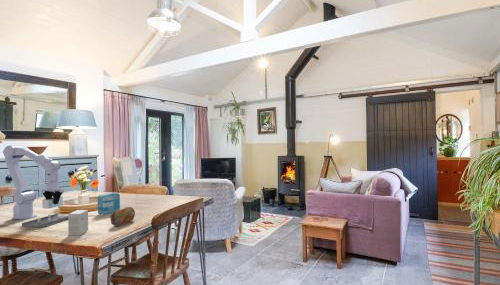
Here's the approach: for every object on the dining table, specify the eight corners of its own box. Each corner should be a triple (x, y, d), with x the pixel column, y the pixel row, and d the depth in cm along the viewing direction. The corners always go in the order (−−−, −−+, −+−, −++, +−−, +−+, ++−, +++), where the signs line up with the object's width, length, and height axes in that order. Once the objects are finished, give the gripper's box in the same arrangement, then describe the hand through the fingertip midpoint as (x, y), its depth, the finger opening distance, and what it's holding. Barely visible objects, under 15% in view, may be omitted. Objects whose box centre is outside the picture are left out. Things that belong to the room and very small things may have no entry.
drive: (42, 208, 159) (42, 199, 159) (56, 204, 167) (56, 196, 167) (48, 208, 157) (48, 199, 157) (62, 205, 166) (62, 196, 166)
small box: (77, 230, 138) (76, 209, 138) (88, 230, 139) (88, 209, 139) (67, 235, 130) (67, 214, 130) (80, 235, 131) (79, 213, 131)
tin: (114, 228, 142) (113, 212, 142) (109, 227, 143) (109, 211, 143) (135, 220, 156) (135, 205, 156) (131, 219, 157) (130, 205, 157)
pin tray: (21, 226, 146) (21, 220, 146) (56, 216, 166) (56, 211, 166) (40, 228, 143) (40, 222, 143) (73, 217, 162) (73, 212, 162)
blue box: (101, 215, 167) (101, 196, 167) (97, 214, 169) (97, 195, 169) (120, 211, 177) (119, 193, 177) (116, 210, 179) (116, 192, 179)
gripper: (36, 181, 160) (36, 204, 160) (56, 182, 157) (56, 205, 157) (47, 180, 167) (48, 202, 167) (67, 180, 164) (67, 203, 164)
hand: (52, 203), depth 162 cm, fingers closed on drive, 4 cm apart
